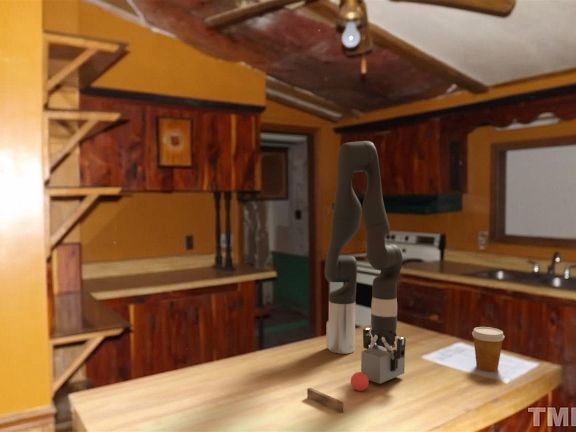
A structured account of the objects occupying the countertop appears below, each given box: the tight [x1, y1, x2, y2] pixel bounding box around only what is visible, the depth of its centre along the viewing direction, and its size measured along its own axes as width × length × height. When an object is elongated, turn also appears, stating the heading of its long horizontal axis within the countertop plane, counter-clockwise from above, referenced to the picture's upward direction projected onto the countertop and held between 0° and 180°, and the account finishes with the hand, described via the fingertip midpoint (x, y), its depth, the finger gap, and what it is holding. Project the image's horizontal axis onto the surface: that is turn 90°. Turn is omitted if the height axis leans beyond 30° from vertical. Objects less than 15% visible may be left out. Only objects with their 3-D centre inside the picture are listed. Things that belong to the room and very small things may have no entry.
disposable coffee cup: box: [471, 326, 505, 372], centre depth 154 cm, size 10×10×12 cm
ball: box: [350, 371, 370, 392], centre depth 137 cm, size 5×5×5 cm
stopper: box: [306, 387, 344, 414], centre depth 127 cm, size 12×1×2 cm, turn 42°
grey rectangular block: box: [360, 346, 406, 384], centre depth 144 cm, size 7×12×8 cm, turn 132°
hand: (383, 367), depth 144 cm, fingers closed on grey rectangular block, 7 cm apart
